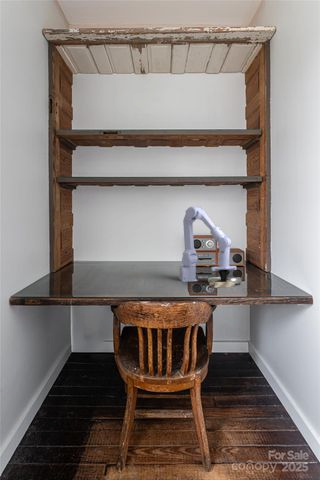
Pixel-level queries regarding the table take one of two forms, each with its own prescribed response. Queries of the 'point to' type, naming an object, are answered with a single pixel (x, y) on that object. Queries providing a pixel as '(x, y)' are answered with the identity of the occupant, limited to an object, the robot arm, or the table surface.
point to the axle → (236, 280)
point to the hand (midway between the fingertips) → (223, 282)
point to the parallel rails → (221, 283)
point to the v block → (214, 278)
